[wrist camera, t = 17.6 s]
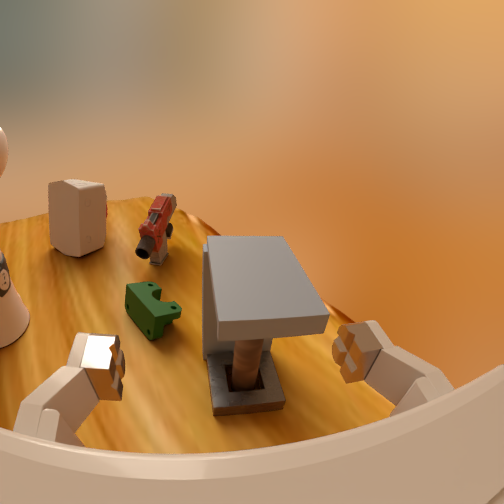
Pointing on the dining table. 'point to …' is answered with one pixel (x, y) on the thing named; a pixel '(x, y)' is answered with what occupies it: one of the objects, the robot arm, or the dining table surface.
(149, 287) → the clamp
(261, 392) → the socket
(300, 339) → the dining table surface
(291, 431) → the dining table surface
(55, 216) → the electrical switch box
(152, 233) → the toy gun
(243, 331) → the gray cantilever bracket
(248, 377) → the peg
